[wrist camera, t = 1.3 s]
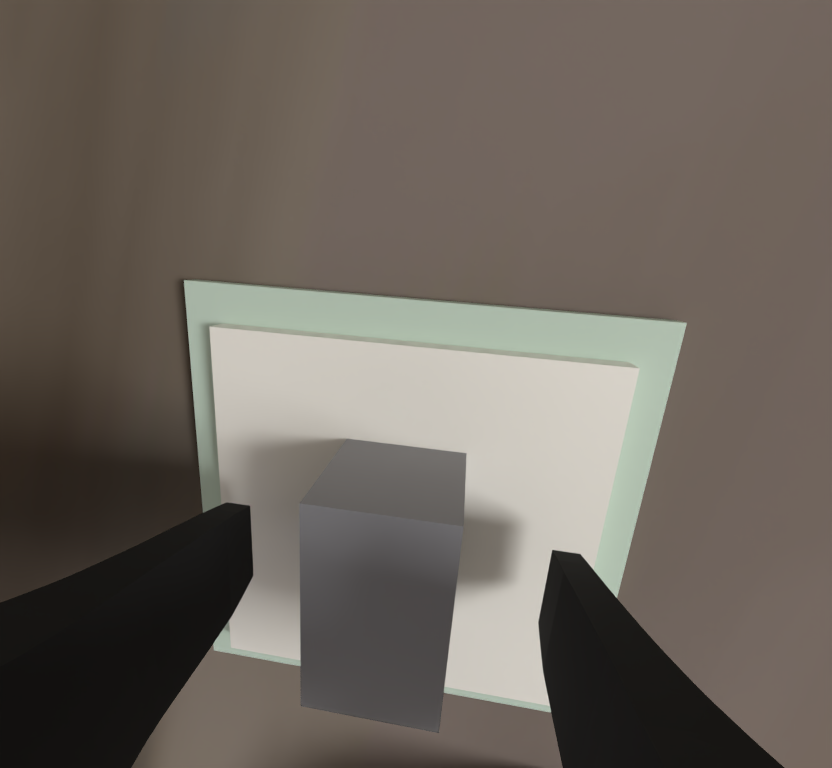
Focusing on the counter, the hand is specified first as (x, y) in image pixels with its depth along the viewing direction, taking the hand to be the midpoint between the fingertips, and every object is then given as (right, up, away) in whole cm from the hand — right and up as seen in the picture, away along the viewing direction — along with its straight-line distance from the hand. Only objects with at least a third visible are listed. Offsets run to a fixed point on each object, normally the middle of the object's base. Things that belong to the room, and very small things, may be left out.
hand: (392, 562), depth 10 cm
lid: (0, 0, +2) cm, 2 cm away
